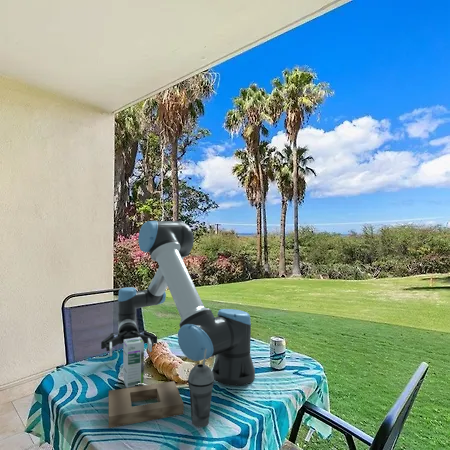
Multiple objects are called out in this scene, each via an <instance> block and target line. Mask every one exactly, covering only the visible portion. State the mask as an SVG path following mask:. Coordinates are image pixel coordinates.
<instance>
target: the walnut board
mask: <svg viewBox="0 0 450 450" xmlns="http://www.w3.org/2000/svg"><path fill="white" fill-rule="evenodd" d="M181 396H182V395H181V393H180V391H179V389H178V387H177V384H176V382H175V380H173V381H166V382H165V381H164V382H160V383H152V384H145V385H138V386H133V387H129V388H126V387H125V388H119V389H111V390H108V429H110V428H117V427H122V426H126V425H127V426H128V425H132V424H133V425H134V424H137V423H143V422H148V421H149V422H150V421H155V420H160V419H166V418H170V417H177V416H181V415H184V413H185V411H184V410H185V409H184V407H185V406H184V402H183V399H182V397H181ZM153 399H154V400H155V399H156V401H157V402H151V403H146V404H139V405H135V406H132V403H134V402H135V403H136V402H140V401H141V402H142V401H147V400H153Z"/></svg>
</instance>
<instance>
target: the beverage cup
mask: <svg viewBox="0 0 450 450" xmlns="http://www.w3.org/2000/svg"><path fill="white" fill-rule="evenodd" d="M206 351H207V349H205V352H204V359H203V360H202V363H199V364H196V365H195V366H194V367H192V368H191V369H190V370H189V374H188V376H187V377H188V378H187V384H188V389H189V400H190V401H189V403H190V415H191V416H190V417H191V422H192V425H193V426H194V427H197V428H205V427H206V426H208V424H209V421H210V416H211V415H210V414H211V404H212V394H213V388H214V383H215V380H214V376H213V372H212V368H211V367H209V366H208V365H207V364H206V360H207V359H206Z"/></svg>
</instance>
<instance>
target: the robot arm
mask: <svg viewBox="0 0 450 450" xmlns="http://www.w3.org/2000/svg"><path fill="white" fill-rule="evenodd" d="M194 239H195V238H194V233H193V230H192V229H191V227H190V226H189V225H188V224H186V223H185V222H182V221H178V220H175V221H174V220H173V221H172V220H148V221H146V222H144V223H143V224H142V225H141V227H140V229H139V232H138V247H139V250H140V251H141V252H143V253H146V254H147V253H149V256H150V258H151V260H152V261H153V262H157V265H158V268H157V270H156V272H155V273H154V276H153V278H152V280H151V282H150V284H149V285H148V287H147V289H143V290H138V291H137V289H136V288H135V287H131V286H130V287H129V286H128V287H121V288H120V289H119V290H118V295H117V305H118V306H117V308H118V309H117V310H118V313H117V327H118V328H117V330H118V334H114V332H112V333H110V335H109V336H108V337H106V338H104V339H103V340H102V341H100V344H101V345H100V349H101V350H104V349H106V350H105V351H106V352H109V357H112V356H113V347H115V346H117V345H123V341H124V339H131V338H138V337H141V338H142V340H143V341H144V344H147V347H148V351H149V352H150V353H151V352H153V347H154V346H155V344H158V336H157V335H155V334H153V333H150V332H148V331H147V330H143V331H142V332H139V330H138V327H137V320H136V319H137V318H136V317H137V316H136V315H137V309H140V308H141V309H142V308H147V307H151V306H158V305H162V304H164V303H165V302H166V297H167V295H166V294H167V293H166V289H167V288H168V290H169V292H170V294H171V297H172V299H173V302H174V304H175V306H176V309H177V312H178V314H179V316H180V322H179V330H178V332H177V338H178V339H177V343H178V346H179V349H180V350H181V352H182V354H184V356H185V357H186V358H188V359H189V360H191V361H194V362H199V361H200V362H201V361H203V360H204V352H205V349H207V351H206V359H205V360H208V359H210V358H212V357H214V356H216V357H215V359H214V363H213V366H212V368H211V370H212V372H213V376H214V382H217V383H218V384H221V385H225V386H229V387H230V386H231V387H235V386H237V387H239V386H245V385H248V384H250V383H252V382H254V380H255V379H256V378H255V377H256V370H255V366H254V362H253V359H252V356H251V339H252V338H251V336H252V331H251V330H252V323H251V322H252V321H251V314H249V312H246V311H243V310H240V309H235V308H234V309H232V308H221V309H219V310H218V312H217V316H215V315H214V314H213V312H212V310H211V308H207V307H205V305H204V303H203V301H202V299H201V296H200V294H199V293H198V290H197V288H196V286H195V284H194V282H193V280H192V277H191V275H190V274H189V271H188V269H187V266H186V264H185V262H184V259H185V258H186V257H188V256H189V255H190V253H191V251H192V249H193V246H194V242H195V240H194Z"/></svg>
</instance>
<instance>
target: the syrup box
mask: <svg viewBox="0 0 450 450" xmlns="http://www.w3.org/2000/svg"><path fill="white" fill-rule="evenodd" d="M122 345H123V346H122V347H123V353H122V355H123V356H122V357H123V361H122V362H123V364H122V365H123V367H122V368H123V372H122V373H123V379H124V381H123V383H124V385H125V388H131V387H136V386H135V384H138V383H144V384H145V379H144V378H145V373H144V372H145V343H144V341H143V340H142V338H141V337H138V338H131V339H124V341H123V343H122Z"/></svg>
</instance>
